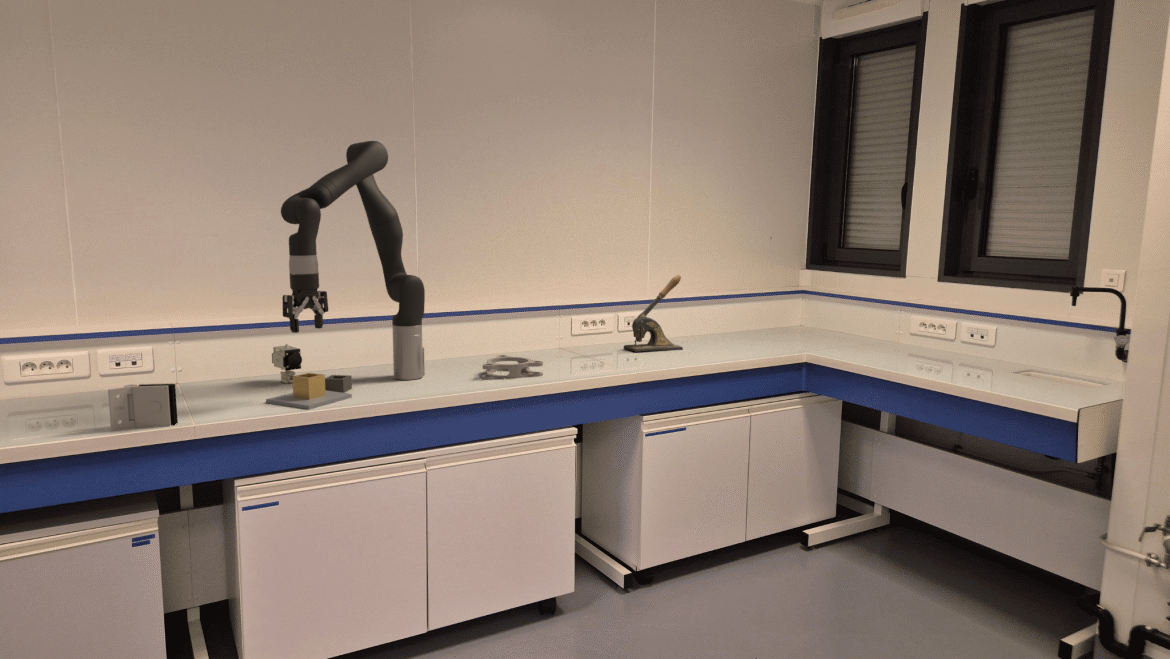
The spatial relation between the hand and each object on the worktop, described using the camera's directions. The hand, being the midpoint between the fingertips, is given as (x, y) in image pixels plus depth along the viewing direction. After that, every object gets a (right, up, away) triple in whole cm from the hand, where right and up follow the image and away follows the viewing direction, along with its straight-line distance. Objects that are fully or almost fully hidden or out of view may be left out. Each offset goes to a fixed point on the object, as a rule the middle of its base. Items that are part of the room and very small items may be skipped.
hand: (307, 330), depth 209 cm
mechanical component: (+51, -15, +44) cm, 69 cm away
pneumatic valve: (-16, -17, +26) cm, 34 cm away
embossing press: (+105, -8, +95) cm, 142 cm away
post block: (0, -20, +3) cm, 20 cm away
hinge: (-30, -24, -26) cm, 46 cm away
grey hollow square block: (+4, -18, +15) cm, 24 cm away
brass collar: (0, -19, +3) cm, 19 cm away
